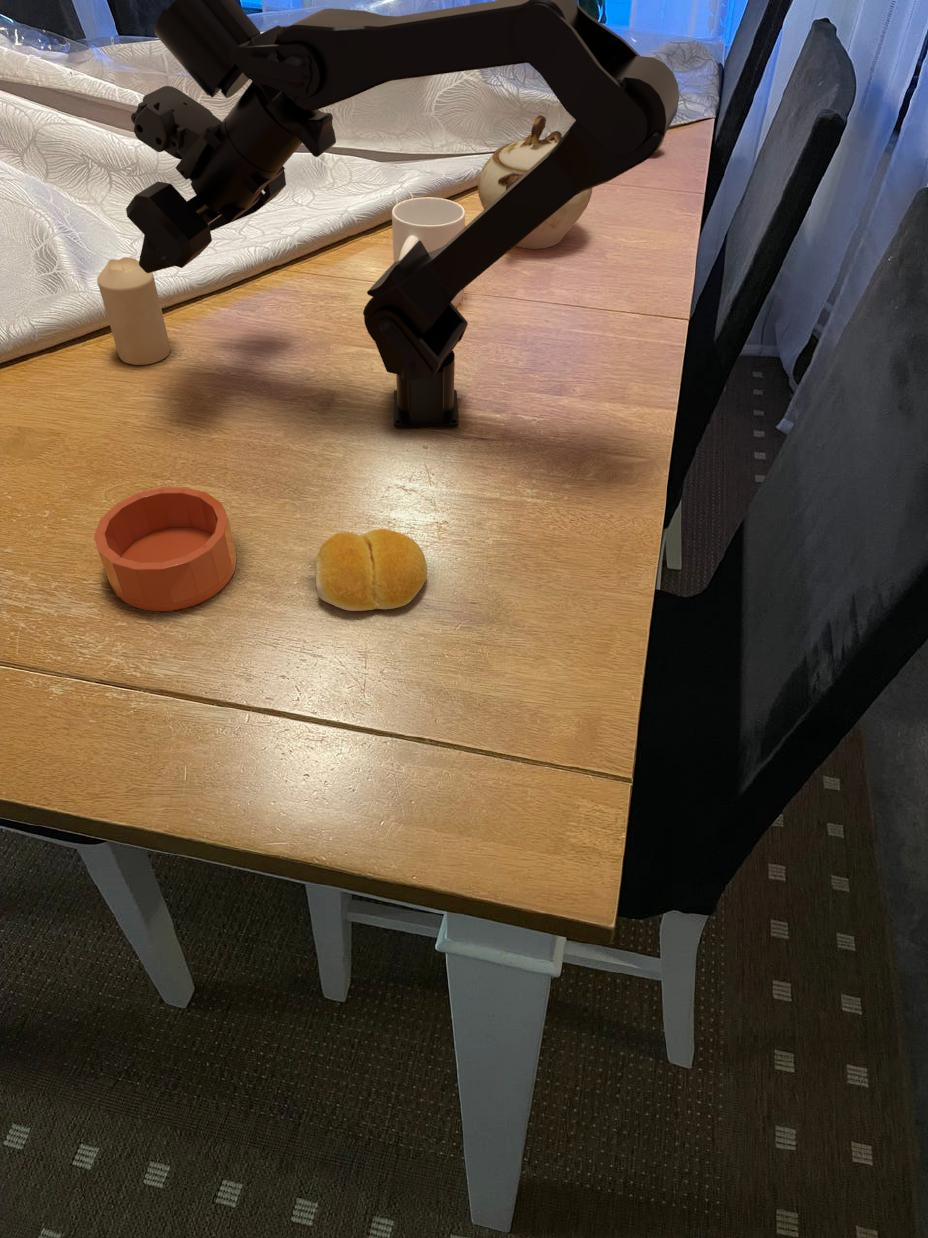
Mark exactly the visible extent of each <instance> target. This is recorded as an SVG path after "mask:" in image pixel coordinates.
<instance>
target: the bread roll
mask: <svg viewBox="0 0 928 1238" xmlns="http://www.w3.org/2000/svg"><path fill="white" fill-rule="evenodd" d="M315 558H316V563H315V585H316V586H315V587H316V590H317V591H316V592H317V593H316V594H317V596H318V597H319V598H320V600H322V601H324V602H325V603H328V604H329V605H332V606H334V607H337V608H339V609H341V610H345V611H349V612H363V611H364V612H365V611H373V610H377V609H378V610H391V609H398V608H401V607H404V606H406V605H408V604H409V603H410V602H411V601H412V600H413V599H414V598H415V597H416V595H417V594H419V591H420V590H422V588H423V586H424V584H425V582H426V581H427V580H426V579H427V576H428V564H427V560H426V556H425V553H424V551H423V550H422V548H421V547H420V545H419V544H418V543H417V542H416V541H415V540H414V539H413V538H411V537H410V536H408V535H406V534H404V533H401V532H398V531H395V530H391V529H387V528H378V529H372V530H369V531H367V532H366V533H363V534H357V533H354V532H347V531H346V532H345V531H343V532H337V533H335V534H333V535H332V536H330V537H328V538H327V539H326V540H324V541H323V543H322V544H321V546H320V548H319V550H318V552H317V554H316V557H315Z"/></svg>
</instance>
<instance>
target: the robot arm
mask: <svg viewBox="0 0 928 1238" xmlns="http://www.w3.org/2000/svg"><path fill="white" fill-rule="evenodd" d="M154 34H155V36H156V38H158V39H159V41H160V42H161V43H162V44H163V45H164V47H165V48H166V49H167V50H168V51H169V52H170V54H171V55H172V56H173V57H174V59H176V60H177V62H178V63H179V64H180V66H182V68H183V69H184V70H185V71H186V72H187V74H188V75H189V76H190V77H191V78H192V79H193V80H194V82H195V83H196V84H197V85H198V86H199V87H200V88H201V90H202V91H203V92H204V93H205V95H206V96H210V97H211V98H214V97H215V96H216V95H217V94H218V93H219V92H221V94H222V95H223V96H224V97H225V99H230V98H231V97H233V96H234V95H235V94H236V93H238V92H239V91H240V90H241V89H242V88H244V86H245V85H246V84H247V83H248V82H249V80H250V81H251V82H250V84H249V85H248V86H247V88H246V89H245V90H244V91H243V93H242V95H241V96H240V98H239V99H238V100H237V101H236V103H235V104H234V106H233V107H232V108H231V109H230V111H229V112H228V114H227V115H226V116H224V118H223V119H222V120H221V119H219V118H218V117H217V116H215V114H213V112H212V111H211V110H210V109H208V108H207V107H205V106H204V105H202V103H200V102H198V101H197V100H195V99H194V98H192V97H190V96H189V95H187V94H186V93H185V92H183V91H181V90H180V89H179V88H177V87H174V86H172V85H171V86H170V85H164V86H161V87H160V88H158V89H156V90H153V91H151V92H149V93H147V94H145V95H144V96H143V97H142V101H141V102H138V103H137V108H136V111H134V112H133V113H131V115H130V120H131V122H132V123H133V124H134V125H133V133H134V135H135V137H136V139H137V140H138V141H140V142H142V143H143V144H144V145H146V146H148V147H149V148H150V149H152V150H154V151H155V152H157V153H162V152H166V153H167V154H168V155H170V156H172V157H173V158H174V159H178V160H180V161H179V162H178V164H177V165H176V166H175V169H176V171H177V172H178V173H179V175H180V176H182V178H183V179H184V180H190V187H191V189H192V190H193V192H194V193H195V195H194V196H192V198H191V197H190V199H188V200H187V199H186V198H185V197H184V196H183V195H182V194H181V193H180V192H179V190H178V189H176V187H175V186H174V185H173V184H172V183H170V182H163V181H156V182H154V183H152V184H151V185H149V186H147V187H146V188H145V189H143V190H141V191H140V192H138V193H136V194H135V195H134V197H133V198H132V199H131V201H130V202H129V204H128V205H127V206H126V208H125V212H126V217H127V218H128V219H129V221H130V222H131V223H132V224H134V226H135V227H136V228H137V229H138V230H139V231H140V232H141V233H142V234H143V235H144V236H143V242H142V246H141V250H140V255H139V260H138V261H139V266H140V267H141V268H142V269H143V270H144V271H145V272H146V273H151V272H152V273H155V272H158V271H162V270H166V269H170V268H173V267H177V268H180V269H183V268H184V267H185V266H187V265H188V264H189V263H191V262H192V261H194V260H195V259H196V258H197V257H199V256H200V255H201V254H202V252H204V251H205V250H206V249H207V248H208V246H209V245H210V244H211V243H212V241H213V238H212V231H214V230H217V229H219V228H221V227H222V228H223V227H224V226H226V225H228V224H231V223H233V222H235V221H239V220H241V219H243V218H245V217H247V216H250V215H253V214H255V213H256V212H258V211H259V210H260V209H262V208H263V207H265V206H266V205H267V204H268V203H269V202H271V201H272V200H273V199H275V198H276V197H277V196H278V195H279V194H280V193H281V192H282V190H283V189H284V188H285V187H286V186H287V180H286V172H285V170H286V167H284V165H285V164H286V163H287V162H288V161H289V159H290V158H291V157H292V156H293V155H294V154H295V152H296V151H297V150H298V149H299V147H300V146H301V145H302V144H303V145H304V147H305V148H306V149H307V150H308V152H309V153H310V154H311V155H312V156H313V157H314V158H318V157H320V156H321V155H323V154H324V153H325V152H327V151H328V150H329V149H330V148H332V147H333V146H335V144H336V143H337V137H336V133H335V129H334V125H333V119H334V116H333V114H332V112H323V111H322V110H321V109H324V108H326V107H329V106H331V105H335V104H337V103H340V102H343V101H345V100H349V99H351V98H353V97H355V96H358V95H359V94H362V93H364V92H366V91H369V90H372V89H374V88H375V87H378V86H380V85H383V84H387V83H389V82H392V81H393V82H394V81H399V80H400V81H401V80H408V79H415V78H423V77H430V76H439V75H446V74H453V73H461V72H467V71H476V70H483V69H491V68H497V67H498V68H499V67H507V66H513V65H522V64H528V65H530V66H531V67H532V68H533V69H534V70H535V71H536V72H537V73H538V74H539V75H540V76H541V77H542V79H543V80H544V82H545V83H546V84H547V86H548V87H549V89H550V90H551V92H552V93H553V94H554V96H555V97H556V98H557V100H558V102H559V103H560V104H561V105H562V107H563V109H564V110H565V111H566V112H567V113H568V114H569V115H570V116H571V117H572V118H573V119H574V120H575V121H574V122H573V123H572V124H571V126H570V127H569V128H568V129H567V130H566V132H565V134H564V135H562V139H561V140H560V141H559V143H558V144H557V145H556V146H555V147H553V148H552V149H551V150H550V151H549V152H548V153H547V154H546V155H545V156H543V157H542V158H541V159H540V160H539V161H538V162H537V163H536V164H535V165H533V166H532V167H531V168H530V169H529V170H528V171H527V172H526V173H525V174H523V175H522V176H521V177H520V178H519V179H518V180H517V181H516V182H515V183H513V184H512V185H511V186H510V187H509V188H508V189H507V190H506V191H505V192H503V193H502V194H501V195H500V196H499V197H498V198H497V199H496V200H495V201H493V202H492V203H491V204H490V205H489V206H488V207H487V208H486V209H483V210H482V211H481V212H480V213H478V215H476V217H474V218H473V219H472V220H471V221H470V222H469V223H467V225H465V227H464V228H463V229H462V230H461V231H460V232H459V233H458V234H457V235H456V236H454V237H453V238H452V239H451V240H450V241H449V242H448V243H447V244H446V245H444V246H443V247H441V248H439V249H436V250H434V251H431V252H429V253H428V252H427V250H426V248H425V247H424V245H423V244H422V242H421V241H420V240H419V241H418V242H417V243H416V244H415V245H414V246H413V247H412V248H411V250H410V251H409V252H408V253H407V254H406V255H405V256H404V257H403V258H402V259H401V260H400V261H397V262H394V261H393V263H392V264H391V265H390V266H389V267H388V268H387V270H385V272H384V273H383V274H382V275H381V276H380V277H379V278H378V279H377V280H376V282H374V284H372V286H371V287H370V288H369V289H368V290H367V292H366V294H367V295H368V296H369V297H371V298H370V299H369V300H368V302H366V304H365V306H364V309H363V311H362V315H363V318H364V319H363V320H364V321H363V322H364V325H365V328H366V331H367V333H368V334H369V336H370V337H371V339H372V341H373V342H374V343H375V346H376V348H377V351H378V353H379V357H380V358H381V360H382V363H383V366H384V369H385V371H386V372H387V373H389V374H394V375H395V376H396V377H395V378H396V380H395V381H396V389H394V391H393V409H392V410H393V411H392V413H393V415H392V423H393V424H392V425H393V427H394V428H395V429H456V428H458V427H459V426H460V417H459V415H460V414H459V404H458V403H459V402H458V391H457V390H456V389H455V366H456V365H455V363H456V362H455V361H456V359H455V358H456V354H455V352H454V349H455V348H456V347H457V345H458V344H459V342H461V340H462V339H463V337H464V334H465V332H466V329H467V328H468V324H469V323H468V321H467V320H466V318H465V317H464V316H463V315H462V314H461V312H460V311H459V310H458V309H457V308H456V306H455V307H454V305H453V304H452V303H451V301H452V300H453V299H454V298H455V296H456V295H457V294H458V293H459V292H460V291H461V290H462V289H465V288H467V286H469V285H470V284H471V283H472V282H473V281H475V280H476V279H477V278H478V277H480V275H482V274H483V273H484V272H486V271H487V270H488V269H489V268H490V267H491V266H493V265H494V264H495V263H496V262H497V261H499V260H500V259H501V258H502V257H503V256H504V255H506V254H507V253H508V252H509V251H511V250H512V249H513V248H514V247H516V246H515V245H516V244H518V243H519V242H520V241H521V240H522V239H524V238H525V237H526V236H527V235H528V234H530V233H531V232H532V231H533V230H534V229H536V228H537V227H538V226H539V225H540V224H542V223H543V222H544V221H545V220H547V219H548V218H549V217H550V216H551V215H553V214H554V213H555V212H556V211H557V210H559V209H560V208H561V207H562V206H563V205H565V204H566V203H567V202H568V201H569V200H571V199H572V198H573V197H574V196H576V195H577V194H579V193H581V192H583V191H585V190H588V189H591V188H592V189H593V188H595V187H598V186H601V185H603V184H606V183H609V182H610V181H612V180H614V179H616V178H618V177H620V176H621V175H623V174H624V173H626V172H628V171H630V170H632V169H633V168H635V167H637V166H639V165H641V164H642V163H644V162H646V161H647V160H649V159H650V158H651V156H652V155H653V154H654V153H656V152H657V151H656V149H657V148H658V146H659V145H660V143H661V141H662V139H663V137H664V135H665V136H666V133H667V132H668V130H669V128H670V126H671V125H672V123H673V121H674V119H675V117H676V115H677V112H678V108H679V103H680V91H679V89H680V88H679V83H678V81H677V78H676V77H675V75H674V72H673V71H672V70H671V69H670V68H669V67H668V66H667V64H666V63H665V62H663V61H661V60H660V59H657V58H656V57H653V56H652V57H651V56H644V55H643V56H642V55H640V54H639V52H638V51H636V49H634V48H633V47H632V46H631V45H630V44H629V43H628V41H626V40H625V39H624V38H623V37H621V36H620V35H619V34H617V33H616V32H614V31H613V30H612V29H610V28H609V27H607V26H606V25H604V24H603V23H601V22H600V21H599V20H597V19H595V17H593V16H591V15H590V14H588V13H587V11H586V10H585V9H584V8H583V7H581V6H580V5H579V4H578V3H577V2H576V1H575V0H493V1H492V0H491V1H486V2H480V3H479V2H478V3H472V4H467V5H466V4H465V5H460V6H455V7H449V8H441V9H435V10H430V11H423V12H416V13H410V14H405V15H398V16H396V15H394V16H393V15H384V14H383V15H382V14H378V13H374V12H371V11H367V10H359V9H346V8H345V9H344V8H331V7H329V8H324V9H320V10H319V11H316V12H314V13H312V14H310V15H308V16H306V17H303V18H302V19H299V20H297V21H296V22H294V23H291V24H290V25H280V24H278V25H276V26H274V27H272V28H270V29H267V30H266V31H263V32H261V31H260V29H258V27H257V26H256V25H255V24H254V22H253V21H252V20H251V18H250V17H249V16H248V15H247V14H246V12H245V11H244V10H243V8H241V6H240V5H239V4H238V2H237V0H174V1H173V3H172V4H171V5H170V6H167V7H166V8H164V9H163V11H162V12H161V13H160V15H159V17H158V19H157V21H156V23H155V26H154ZM664 138H665V137H664ZM655 151H656V152H655Z"/></svg>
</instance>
